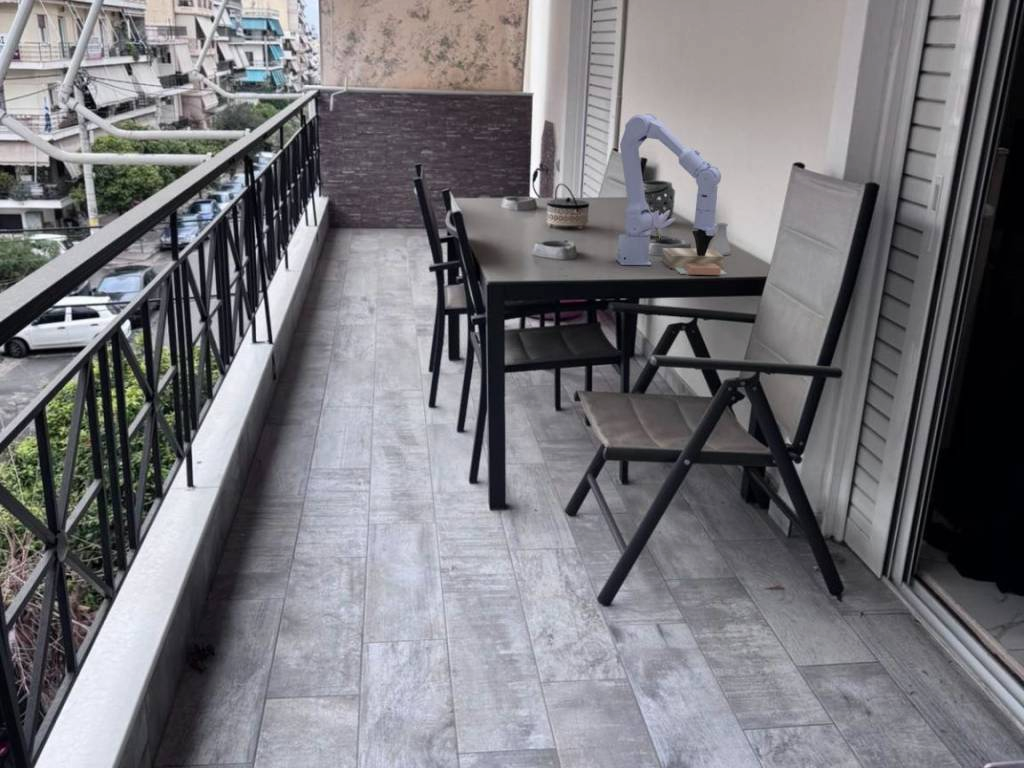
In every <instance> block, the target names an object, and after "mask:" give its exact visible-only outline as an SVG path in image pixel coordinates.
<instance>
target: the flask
mask: <svg viewBox="0 0 1024 768" xmlns="http://www.w3.org/2000/svg"><path fill="white" fill-rule="evenodd" d="M716 223H717V222H716ZM716 225H718V228H717V229H716V233H715V235H714V237H713V239H712V243H711V244H710V247H708V249H714V250H716V251H717V252H718V253H720V254H721V255H723V256H729V255H732V251H731V248H730V244H729V240H728V235H727V226H728V225H729V224H728V223H726V222H718V223H717V224H716Z"/></svg>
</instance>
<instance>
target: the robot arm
mask: <svg viewBox="0 0 1024 768" xmlns="http://www.w3.org/2000/svg"><path fill="white" fill-rule="evenodd" d="M622 134H623V135H622V137H621V141H620V143H619V147H620V154H621V162H622V163H621V164H622V169H623V176H624V182H625V183H624V184H625V191H626V197H627V206H626V209H625V220H624V229H625V230H626V233H622V234H621V233H620V234H619V235H618V239H617V240H618V242H617V254H616V261H617V262H618V264H619V265H620V266H652V262H650V260H649V256H650V255H649V254H650V253H649V252H650V242H651V233H650V229H651V228H652V226H653V224H654V218H653V215H652V214H651V210H650V206H649V203H647V201H646V196H645V195H646V193H645V189H644V181H643V172H642V164H641V159H640V158H641V157H640V151H639V148H640V147H641V146H642V144H643V143H644V142H645V141H646V140H647V139H653V140H658V141H659V142H661V143H662V144H663V145H664V146H665V147H666V148H667V149H669V150H670V152H672V153H673V154H674V155H675V156H677V157H678V164H679V165H680V166H681V167H682V168H683V170H685V171H686V172H687V173H688V174H689V175H690V176H691V177H692V178H693V179H695V183H696V185H697V193H696V205H695V212H694V213H695V214H694V221H693V228H695V229H697V230H693V231H691V233H692V235H693V238H694V241H695V248H696V251H697V255H698V256H705V254H706V252H707V249H709V245H710V243H711V241H713V239H714V238H715V229H716V228H717V229H718V225H717V224H715V216H716V208H717V199H718V187H719V186H718V185H719V184H720V182H721V180H722V179H721V178H722V174H721V171H720V170H719V169H718V167H716V166H712V163H711V162H709V161H708V162H707V160H706V159H704V158H703V156H701V155H700V154H701V152H700V150H699V149H694V148H687V147H686V146H685V145H684V144H683V143H682V142H681V141H680V140H679V139H678V138H677V137H676V136H675V134H673V132H671V130H670V129H668V127H667V126H666V125H665V124H664V123H663V122H662V121H661V120H660V119H658V118H657V117H656V116H655V115H654V114H652V113H646V114H636V115H633V116H631V118H630V119H629V120H628V121H627V122H626V123H625V125H624V132H623V133H622Z"/></svg>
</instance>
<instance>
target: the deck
mask: <svg viewBox="0 0 1024 768" xmlns="http://www.w3.org/2000/svg"><path fill="white" fill-rule="evenodd" d="M724 261H725V255H721V254H720V253H718V252H717V251H716V250H714V249H709V248H708V249H707V252H706V254H705V256H698V255H697V251H696V247H695V248H691V247H690V248H689V247H687V248H686V247H685V248H684V247H663V248H662V255H661V262H663V263H664V264H665V263H666V264H667V265H668V266H669V267H670V268H674V267H679V268H685V264H686V263H706V264H716V265H718V266H719V267H720V268H721V269H722V270H723V271H724ZM666 264H665V265H666ZM667 265H666V266H667ZM668 266H667V267H668ZM669 267H668V268H669ZM670 268H669V269H670Z"/></svg>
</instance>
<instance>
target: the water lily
mask: <svg viewBox="0 0 1024 768" xmlns="http://www.w3.org/2000/svg"><path fill="white" fill-rule="evenodd" d="M650 212H651V211H650ZM670 213H671V209H668V210H667V211H665V212H664V213H663V212H662V213H661V214H660V213H659V212H658V211H657V210H655V211H654V212H651V214H652V215H653V218H654V224H653V226H652V228H651V229H650V234H652V233H655V235H656V236H658V238H659V239H660V238H661V239H662V237H661V235H662V234H663V230H662V229H663V228H666V227H668V226H669V225H671V224H672V223H673V222H675V220H676V218H675V217H673V218H669V219H668V217H669V216H670Z"/></svg>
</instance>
